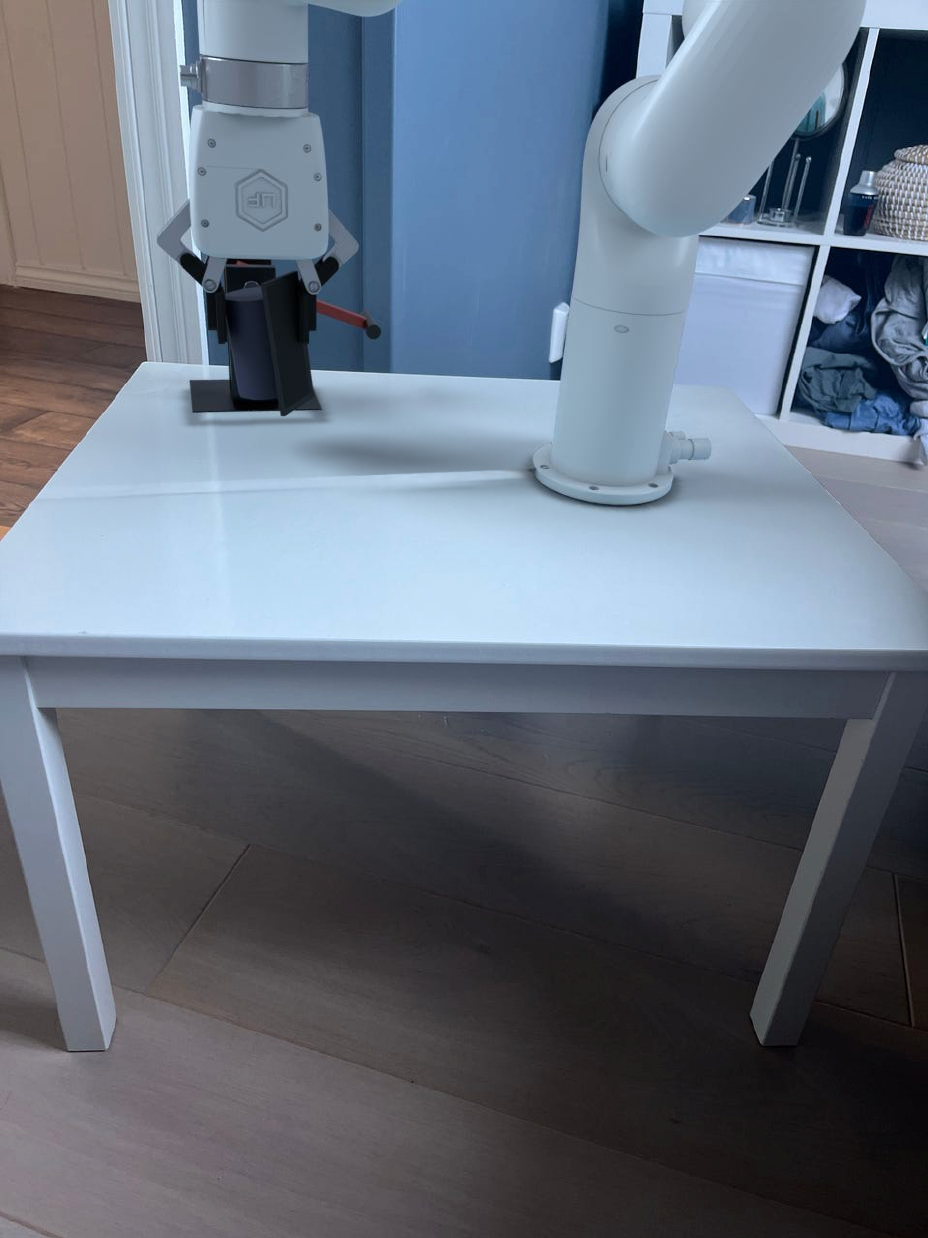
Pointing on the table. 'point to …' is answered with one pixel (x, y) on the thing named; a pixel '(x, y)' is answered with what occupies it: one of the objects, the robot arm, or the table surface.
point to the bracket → (226, 391)
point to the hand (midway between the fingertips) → (262, 337)
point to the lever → (348, 316)
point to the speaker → (269, 343)
